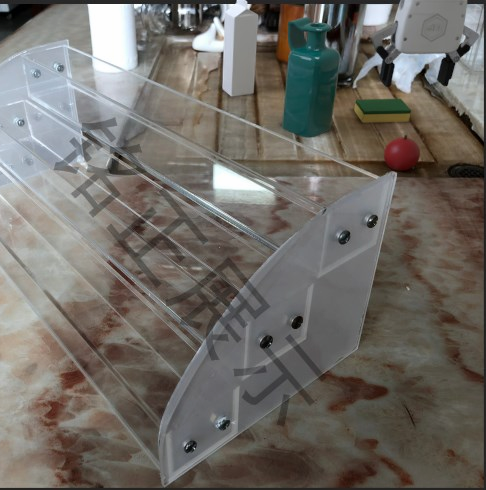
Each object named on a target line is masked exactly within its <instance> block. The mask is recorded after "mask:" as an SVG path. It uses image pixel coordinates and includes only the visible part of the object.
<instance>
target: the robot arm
mask: <svg viewBox="0 0 486 490" xmlns="http://www.w3.org/2000/svg"><path fill="white" fill-rule="evenodd" d="M467 9H468V0H400V1H399V3H398V7H397V10H396V13H395V17H394V21H393V23H391V24H389V25H387V26H384V27H383V28H381V29H379V30H377V31H375V32H373V33H371V34H370V40H371V42H372V45H373V49H374V51H375V52H376V53H377V55H378V56H379V57H380V58H381V59H382V61H381V66H380V72H379V80H380V82H381V84H382V85H383V86H384V87H385V88H390V87H391V85H392V82H393V76H394V72H395V67H396V64H395V63H394V61H395V60H396V59H397V58H398V57H399V56H400V55H401V54H405V55H436V54H442V55H443V54H445V56H444V57H442V58H441V61H440V65H439V69H438V73H437V76H436V81H437V82H438V83H439V84H440V85H441V86H443V87H448V86H449V83H450V80H451V79H452V78H453V75H454V72H455V67H456V64H457V63H459V62H460V60H461V58H462V57H463V56H465V55H467V54H468V53H469V52H470V50H471V48H472V47H473V46H474V45H475V43H476V42H477V41H478V39H479V38H480V34H479V33H478V32H477V31H476V30H473V29H472V28H470V27H468V26H467V25H465V22H466V17H467V16H466V15H467ZM463 36H464V37H465V38H464V39H463V41H462V37H463ZM388 37H390V39H389V40H390V44H389V45H388V46H387V47H386V48H385V47H384V44H383V40H384V39H386V38H388ZM461 41H462V42H461Z"/></svg>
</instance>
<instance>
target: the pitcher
mask: <svg viewBox="0 0 486 490" xmlns="http://www.w3.org/2000/svg"><path fill="white" fill-rule="evenodd" d="M332 29H333V28H332V25H331V24H328V23H325V22H312V21H311V18H309V17H308V16H304V17H300V18H298V19H297V18H296V19H294V20H289V21H287V43H288V47H289V50H290V52H289V54H288V57H287V67H286V68H287V69H286V77H285V78H286V79H285V89H284V91H285V92H284V102H283V111H282V114H283V115H282V122H281V126H282V127H281V128H282V129H283V130H285V131H288V132H290V133H293V134H295V135H297V136H300V137H303V138H315V137H316V136H319V135H321V134H323V133H327V132H329V131H330V130H331V129H332V123H333V122H332V121H333V116H334V115H333V114H334V108H335V101H336V94H337V87H338V79H339V72H340V64H341V54H340V52H339V50H337V49H336V48H333V47H330V46H327V44H326V42H327V41H326V40H327V32H330V31H331V30H332ZM306 33H307V35H306Z"/></svg>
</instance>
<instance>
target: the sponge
mask: <svg viewBox="0 0 486 490" xmlns="http://www.w3.org/2000/svg"><path fill="white" fill-rule="evenodd" d="M354 112H355V114H356V116H357V118H358V119H359V120H360V121H361V123H363V124H364V123H366V124H367V123H404V122H405V123H406V122H407V123H408V122H409V121H410V118H411V112H412V109H411V108H410V107H409V106H408V105H407V104H406V103H405V102H404V100H403V99H402V98H374V99H373V98H371V99H367V98H365V99H355V103H354Z"/></svg>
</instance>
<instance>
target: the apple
mask: <svg viewBox="0 0 486 490" xmlns="http://www.w3.org/2000/svg"><path fill="white" fill-rule="evenodd" d="M420 157H421V150H420V147H419V145H418V143H417V142H416V141H415V140H414V139H411V138H409V137H408V134H404V135H403V136H401V137H396V138H393V139H392V140H391V141H389V142H388V144H387V145H386V147H385V149H384V151H383V159H384V162H385V164H386V165H387V167H389V168H390V169H391V170H393V171H396V172H406V171H408V170H411V169H412V168H413V167H415V166H416V165H417V164H418V162H419V161H420Z"/></svg>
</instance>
